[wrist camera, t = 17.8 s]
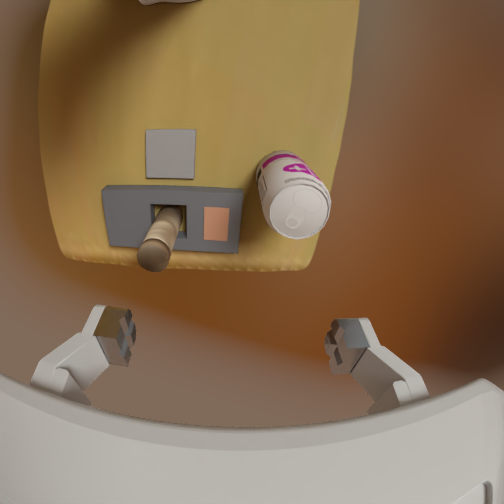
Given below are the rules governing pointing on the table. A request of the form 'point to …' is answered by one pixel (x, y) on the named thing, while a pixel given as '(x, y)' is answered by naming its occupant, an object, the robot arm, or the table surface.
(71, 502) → the robot arm
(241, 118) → the table surface
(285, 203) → the supplement can
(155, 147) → the pad
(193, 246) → the socket board
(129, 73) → the table surface
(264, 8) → the table surface
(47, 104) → the table surface
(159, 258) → the maple peg
